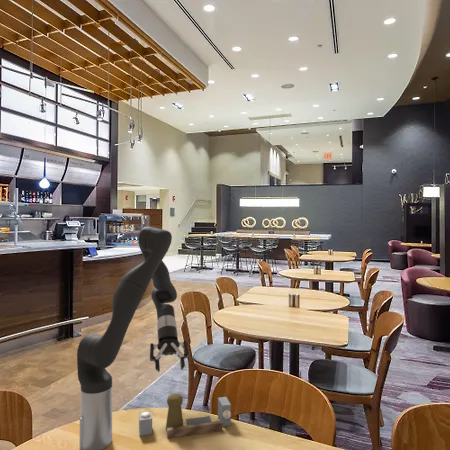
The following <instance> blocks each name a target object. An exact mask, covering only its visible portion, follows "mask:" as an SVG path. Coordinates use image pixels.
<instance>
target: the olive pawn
mask: <svg viewBox="0 0 450 450" xmlns="http://www.w3.org/2000/svg"><path fill="white" fill-rule="evenodd" d="M183 402H184V400H183V396H182V395H181V394H180V393H171V394H169V395H168V397H167V399H166V404H167V406H168V407H167V415H166V424H165V431H166V432H167V428H171V427H179V426H185V425H184V419H183V417H184V416H183V411H182V410H183V409H182V405H183Z"/></svg>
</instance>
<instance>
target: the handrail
mask: <svg viewBox="0 0 450 450" xmlns="http://www.w3.org/2000/svg"><path fill="white" fill-rule="evenodd" d="M223 427H224V426H223V423H222V421H219V420H215V421H212V422H207V423H200V424H193V425H187V424H186V425H184V426H179V427H171V428H167V431H166V439H173V438H175V439H176V438H180V437H186V436H187V437H189V436H194V435H201V434H206V433H214V432H221V431H223Z"/></svg>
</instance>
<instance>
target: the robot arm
mask: <svg viewBox="0 0 450 450" xmlns="http://www.w3.org/2000/svg"><path fill="white" fill-rule="evenodd" d="M137 238H138V240H137V242H138V247H139V250H140V251H141V254H142V256H143V258H144V260H143V262H141V263H140V264H138V265H136V266H135V267H133V268H132V269H130V270H129V271H128V272H127V273H125V274H124V275H123V276H122V278H121V279H120V280H119V283H118V285H117V287H116V288H115V289H114V292H113V295H112V316H111V318H110V319H111V320H110V321H109V324H108V327H107V329H106V330H105V332H103V333H104V334H102V335H101V334H98V333H89V334H87V335H84V336H83V338H81V339H80V341H79V344H78V346H77V351H76V365H77V380H78V382H79V384H80V417H79V450H104V449H105V448H108V447H109V446H110V445H111V444H112V443H113V377H112V375H111V374H110V373H109V371H107V369H106V368H108V367H111V365H112V364H113V363H114V361H115V360H116V358H117V356H118V354H119V352H120V349H121V347H122V344H123V341H124V339H125V336H126V333H127V331H128V328H129V326H130V324H131V322H132V320H133V317H134V315H135V313H136V311H137V309H138V308H139V305H140V304H141V301H142V300H143V298H144V296H145V293H146V292H147V289H148V287H149V285H150V283H151V281H152V284H153V287H154V288H153V289H152V291H151V294H150V295H151V299H152V302H153V304H154V307H155V310H156V315H157V316H156V318H157V322H156V323H157V326H156V330H157V344H155V343H153V342H152V343H150V344H149V346H150V347H149V361H150V362H154V365H155V366H154V367H155V369H154V370H155V371H156V372H159V373H160V371H161V369H160V368H161V365H160V360H161V358H162V357H163V356H173V355H175V356H176V358H179V363H180V365H179V366H180V370H181V371H183V370H184V368H185V367H186V364H185V363H186V362H185V359H188V358H189V355H190V354H189V353H190V352H189V348H188V343H187V340H183V341H182V342H180V341H179V339H178V329H177V322H176V315H175V308H174V306H173V305H171V304H170V303H174V302H175V301H176V300H177V299H178V293H177V290H176V288H175V286H174V284H173V283H172V281H171V278H170V277H171V276H170V272H169V269H168V267H167V265H166V263H165V262H164V261H163V260H164V258H165V256H166V255H167V253H168V251H169V249H170V246H171V244H172V239H173V235H172V233H171V231H169V230H166V229H162V228H159V227H158V228H157V227H154V226H144V227H142V229H141V230H140V231H139V234H138V237H137ZM180 347H181V348H182V349H183V352H182V351H181V349H180ZM157 349H158V350H159V351H158V352H157V354H156V356H154V351H156V350H157Z"/></svg>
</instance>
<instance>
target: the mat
mask: <svg viewBox="0 0 450 450" xmlns="http://www.w3.org/2000/svg"><path fill="white" fill-rule="evenodd" d="M207 422H213V420H212V419H211V417H210V415H206V416H199V417H198V416H197V417H192V418H186V419H185V424H186V425H193V424H200V423H207Z"/></svg>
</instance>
